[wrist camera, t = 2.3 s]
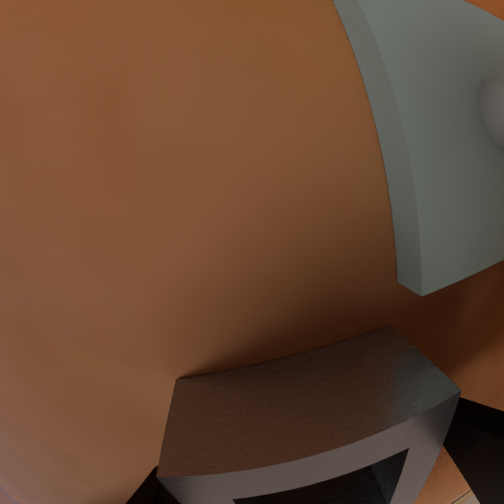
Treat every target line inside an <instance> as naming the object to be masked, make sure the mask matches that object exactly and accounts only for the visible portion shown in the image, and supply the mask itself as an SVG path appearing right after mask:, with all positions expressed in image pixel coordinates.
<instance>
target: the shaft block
mask: <svg viewBox="0 0 504 504" xmlns="http://www.w3.org/2000/svg"><path fill="white" fill-rule="evenodd" d="M333 2H334V5H335V7H336V9H337V11H338V14H339V16H340V18H341V21H342V23H343V25H344V28H345V30H346V33H347V35H348V38H349V41H350V43H351V46H352V49H353V51H354V54H355V57H356V60H357V63H358V66H359V69H360V72H361V75H362V78H363V81H364V84H365V88H366V91H367V94H368V98H369V102H370V105H371V109H372V113H373V117H374V120H375V125H376V129H377V133H378V137H379V142H380V146H381V151H382V156H383V161H384V166H385V172H386V177H387V183H388V190H389V196H390V203H391V211H392V219H393V227H394V237H395V248H396V261H397V279H398V283H400V284H401V285H403V286H405V287H406V288H408V289H410V290H411V291H413V292H415V293H416V294H418V295H420V296H421V297H422V296H424V295H427V294H429V293H432V292H434V291H437V290H439V289H441V288H444V287H446V286H449V285H451V284H453V283H456V282H458V281H460V280H462V279H465V278H467V277H469V276H471V275H473V274H476V273H478V272H480V271H482V270H484V269H486V268H488V267H490V266H492V265H494V264H496V263H498V262H500V261H502V260H504V21H503V20H501V19H499V18H497V17H496V16H494V15H492V14H490V13H488V12H486V11H484V10H482V9H480V8H478V7H476V6H474V5H472V4H470V3H468V2H466V1H463V0H333Z"/></svg>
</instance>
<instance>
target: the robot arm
mask: <svg viewBox="0 0 504 504" xmlns="http://www.w3.org/2000/svg"><path fill="white" fill-rule="evenodd" d="M443 446H444V447H445V449H446V451H447V452H448V454H449V455H450V457H451V458H452V460H453V461H454V463H455V464H456V466H457V467H458V469H459V470H460V472H461V474H462V475H463V477H464V478H465V480H466V481H467V483H468V485H469V486H470V488H471V489H472V491H473V493H474V494H475V496H476V498H477V499H478V501H479V502H480V504H504V411H501V410H498V409H495V408H492V407H488V406H485V405H482V404H479V403H476V402H473V401H470V400H467V399H464V398H461V397H459V400H458V403H457V407H456V410H455V413H454V416H453V419H452V422H451V424H450V427H449V430H448V433H447V435H446V438H445V440H444V443H443ZM157 470H158V466H156V467H155V468H154V469H153V470H152V472H151V473H150V474H149V475H148V477H147V478H146V479H145V480H144V482H143V483H142V484H141V485H140V487H139V488H138V489H137V490H136V492H135V493H134V494H133V495H132V497H131V498H130V499H129V500H128V501H127V503H126V504H181V503H180V502H179V501H178V500H177V499H176V498H175V497H174V496H173V495H172V494H171V493H170V492H169V491H168V490H167V489H166V487H165V486H164V485H163V484H162V483H161V482H160V481H159V480H158V478H157V477H156V475H157Z"/></svg>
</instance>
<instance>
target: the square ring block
mask: <svg viewBox="0 0 504 504" xmlns="http://www.w3.org/2000/svg"><path fill="white" fill-rule="evenodd" d="M460 393H461V389H460V388H459V387H458V386H456V385H455V384H454V383H453V382H452V381H451V380H450V379H449V378H448V377H447V376H446V375H445V374H444V373H443V372H442V371H440V370H439V369H438V368H437V367H436V366H435V365H434V364H433V363H432V362H431V361H430V360H429V359H427V358H426V357H425V356H424V355H423V354H422V353H421V352H420V351H419V350H418V349H416V348H415V347H414V346H413V345H412V344H411V343H410V342H409V341H408V340H406V339H405V338H404V337H403V336H402V335H401V334H400V333H399V332H397V331H396V330H395V329H394V328H393V327H392V326H391V325H388V326H386V327H383V328H380V329H377V330H375V331H372V332H369V333H366V334H363V335H360V336H357V337H354V338H351V339H348V340H345V341H342V342H339V343H336V344H332V345H329V346H326V347H322V348H319V349H315V350H312V351H308V352H305V353H301V354H297V355H294V356H290V357H286V358H282V359H278V360H274V361H270V362H266V363H261V364H257V365H253V366H248V367H243V368H238V369H234V370H229V371H223V372H218V373H213V374H207V375H201V376H195V377H189V378H182V379H176V382H175V387H174V391H173V396H172V400H171V405H170V409H169V414H168V419H167V424H166V428H165V433H164V438H163V443H162V449H161V454H160V459H159V464H158V470H157V475H156V477H157V478H158V480H159V481H160V482H161V483H162V484H163V485H164V486H165V487H166V489H167V490H168V491H169V492H170V493H171V494H172V495H173V496H174V497H175V498H176V499H177V500H178V501H179V502H180V503H181V504H414V502H415V501H416V499H417V497H418V495H419V493H420V492H421V490H422V488H423V486H424V484H425V482H426V480H427V478H428V476H429V474H430V472H431V470H432V468H433V466H434V464H435V461H436V459H437V457H438V455H439V452H440V450H441V448H442V445H443V443H444V440H445V438H446V435H447V433H448V430H449V427H450V424H451V422H452V419H453V416H454V413H455V410H456V407H457V403H458V400H459V397H460Z"/></svg>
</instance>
